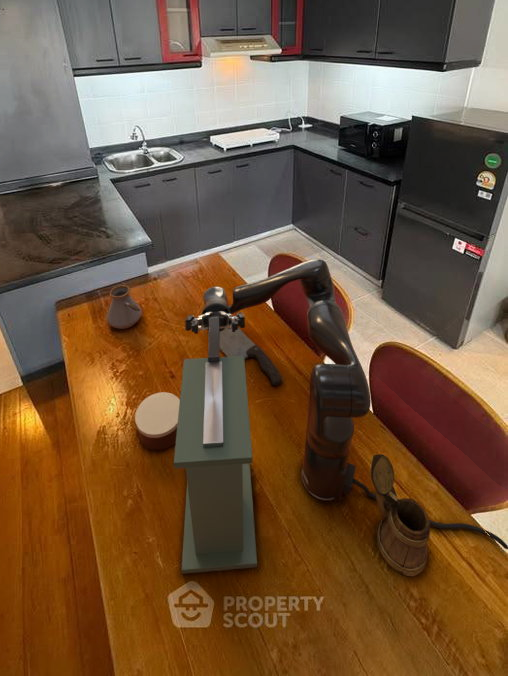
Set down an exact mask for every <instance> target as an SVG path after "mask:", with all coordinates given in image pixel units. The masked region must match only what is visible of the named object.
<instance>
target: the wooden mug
mask: <svg viewBox="0 0 508 676" xmlns="http://www.w3.org/2000/svg"><path fill="white" fill-rule="evenodd" d="M370 479H371V482H372V484H373V487H374V489H375V491H376V493H375V495H376V500H377V501H376V500H375V501H376V503H377V507H378V509H379V512H380V515H381V521H380V523H378V526H377V531H376V543H377V548H378V551H379V552H380V554H381V556H382V558H383V560H384V561H385V562H386V563H387V564H388V565H389V566H390V567H391V568H392V569H393V570H395V571H397V573H400V574H401V575H404V576H406V577H416V576H418V575H419V574H420V573H422V572H423V571H424V569H425V567H426V564H427V559H428V550H427V548H428V541H429V539H430V536H431V526H430V523H429V520H430V519H429V515H428V513H427V511H426V509H425V508H424V507H423V506H422V505H421V504H420V503H419V502H418V501H416V499H412V498H410V497H409V498H408V497H407V498H404V497H403V498H399V497H398V495H397V492H396V489H395V487H394V485H395V484H394V483H395V470H394V467H393V464H392V462H391V461H390V459H389V458H388V456H387V455H385V454H381V453H380V454H373V456H372V459H371V464H370ZM384 501H386V503H387V505H386V504H385V502H384Z"/></svg>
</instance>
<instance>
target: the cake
mask: <svg viewBox="0 0 508 676" xmlns="http://www.w3.org/2000/svg"><path fill="white" fill-rule="evenodd" d="M179 404H180V397H178V396H177V395H175V394H173V393H171V392H168V391H167V392H166V391H161V392H155V393H153V394H150V395H148V396H147V397H146V398H144V399H143V400H142V401H141V402H140V404H139V405H138V407H137V408H136V411H135V414H134V415H135V416H134V421H135V425H136V428H137V432H138V437H139V440H140V443H141V444H142V445H143V446H144V447H145V448H146V449H149V450H151V451H162V450H166V449H169V448H170V447H172V446H173V445H174V444H176V434H177V424H178V414H179Z"/></svg>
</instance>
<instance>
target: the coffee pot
mask: <svg viewBox="0 0 508 676" xmlns="http://www.w3.org/2000/svg"><path fill="white" fill-rule="evenodd" d="M130 293H131V288H130V287H129V286H128V285H125V284H119V285H116V286H114V287H113V288H111V290H110V291H109V297H110V298H111V302H110V303H109V304H110V305H109V308H108V311H107V314H106V321H107V323H108V324H109V326H111V327H112V328H115V329H120V330H124V329H128V328H131V327H133V326H134V325H135V324H136V323H137V322H139V320H140V318H141V317H142V315H143V314H144V311H143V310H142V309H141V306H140V305H139V304H138V303H137V302H136V301H135V299H134V298H133V297H132V296H131V295H130Z"/></svg>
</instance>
